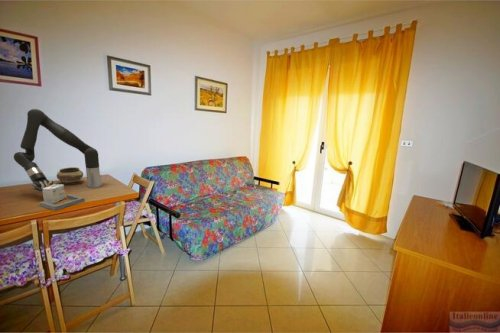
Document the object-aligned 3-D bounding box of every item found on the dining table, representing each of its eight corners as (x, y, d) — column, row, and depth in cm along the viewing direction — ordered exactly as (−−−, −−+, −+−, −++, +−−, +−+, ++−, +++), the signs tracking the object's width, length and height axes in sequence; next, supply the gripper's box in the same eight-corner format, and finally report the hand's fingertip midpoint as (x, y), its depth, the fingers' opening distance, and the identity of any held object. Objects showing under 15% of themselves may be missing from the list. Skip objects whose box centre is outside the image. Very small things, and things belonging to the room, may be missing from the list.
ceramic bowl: (54, 185, 189) (46, 170, 183) (75, 176, 204) (69, 162, 197) (72, 190, 181) (65, 174, 174) (92, 180, 196) (86, 165, 189)
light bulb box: (56, 198, 157) (54, 183, 154) (65, 198, 157) (64, 184, 155) (43, 203, 146) (41, 188, 144) (54, 203, 147) (52, 188, 145)
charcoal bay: (69, 197, 159) (69, 194, 159) (84, 201, 154) (84, 198, 154) (39, 205, 143) (39, 202, 142) (55, 210, 138) (54, 206, 137)
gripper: (25, 174, 145) (39, 194, 144) (49, 170, 158) (62, 189, 156) (22, 180, 148) (35, 200, 147) (45, 176, 161) (58, 194, 159)
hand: (49, 194), depth 152 cm, fingers closed
